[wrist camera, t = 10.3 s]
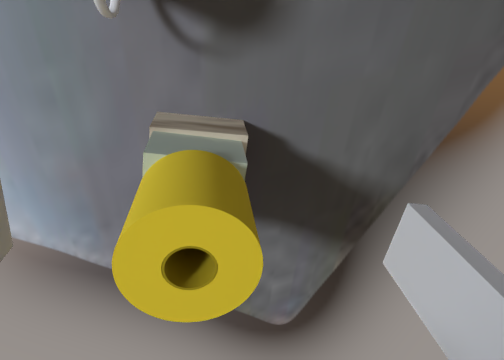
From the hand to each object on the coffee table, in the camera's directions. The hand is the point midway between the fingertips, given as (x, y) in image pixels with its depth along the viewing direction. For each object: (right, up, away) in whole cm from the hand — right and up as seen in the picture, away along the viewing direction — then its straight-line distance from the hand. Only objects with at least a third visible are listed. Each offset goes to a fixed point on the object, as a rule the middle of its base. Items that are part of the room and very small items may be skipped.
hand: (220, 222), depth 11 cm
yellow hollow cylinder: (-4, 0, +20) cm, 21 cm away
